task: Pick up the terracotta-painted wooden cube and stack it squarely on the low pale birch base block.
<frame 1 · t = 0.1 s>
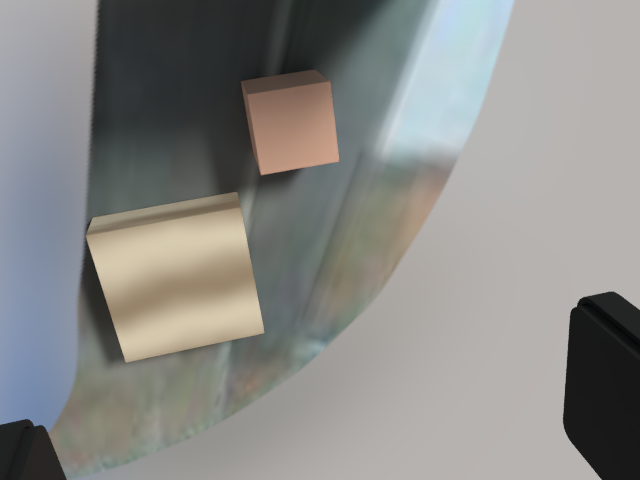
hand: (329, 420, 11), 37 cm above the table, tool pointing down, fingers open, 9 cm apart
cube: (283, 112, 45), on the table
base: (181, 267, 49), on the table
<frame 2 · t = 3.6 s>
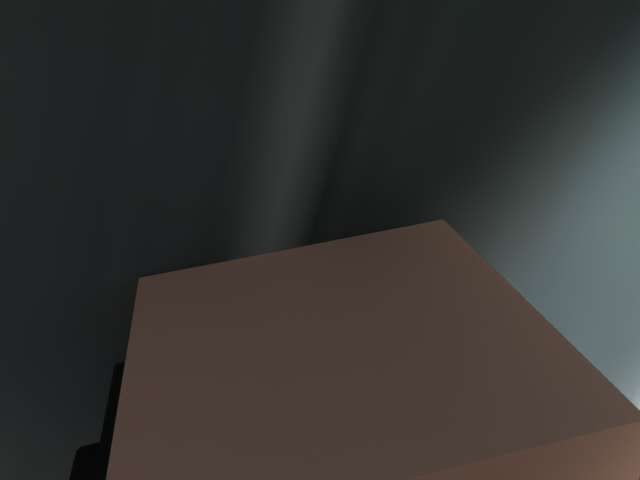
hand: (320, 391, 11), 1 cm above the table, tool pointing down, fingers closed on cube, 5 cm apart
cube: (314, 372, 12), on the table, touching gripper
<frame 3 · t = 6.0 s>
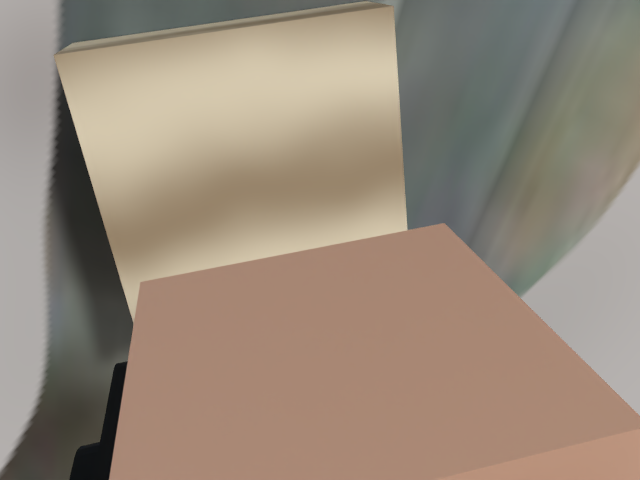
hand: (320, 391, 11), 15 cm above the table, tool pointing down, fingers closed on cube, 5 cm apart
cube: (315, 376, 12), point 15 cm above the table, touching gripper
base: (248, 161, 25), on the table
when the fingers open (5 cm above the table, at t = 8.6 s): cube stays where it is, resting on base.
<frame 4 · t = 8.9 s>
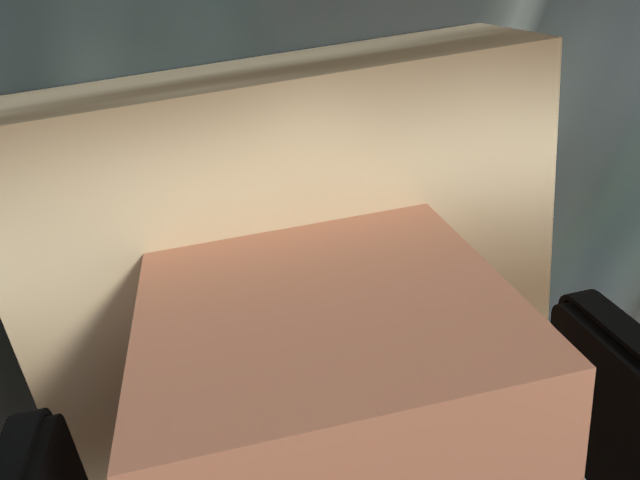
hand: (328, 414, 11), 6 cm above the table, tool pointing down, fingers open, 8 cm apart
cube: (306, 346, 13), point 3 cm above the table, touching base
base: (283, 273, 16), on the table
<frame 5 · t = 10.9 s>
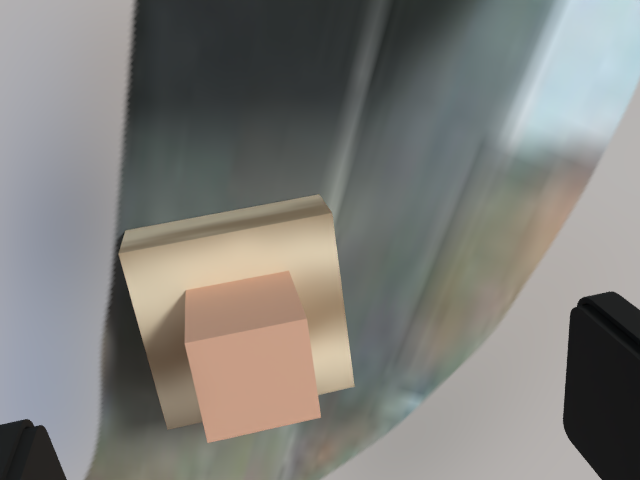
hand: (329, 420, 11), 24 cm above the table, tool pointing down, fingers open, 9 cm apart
cube: (246, 325, 33), point 3 cm above the table, touching base
base: (241, 297, 36), on the table
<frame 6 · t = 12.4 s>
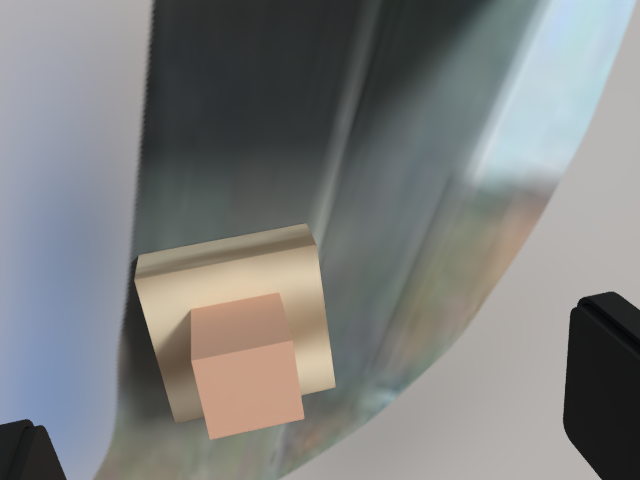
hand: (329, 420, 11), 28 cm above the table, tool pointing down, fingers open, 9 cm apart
cube: (242, 337, 39), point 3 cm above the table, touching base
base: (238, 310, 42), on the table
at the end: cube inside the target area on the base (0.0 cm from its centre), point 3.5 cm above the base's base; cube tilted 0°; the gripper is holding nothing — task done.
